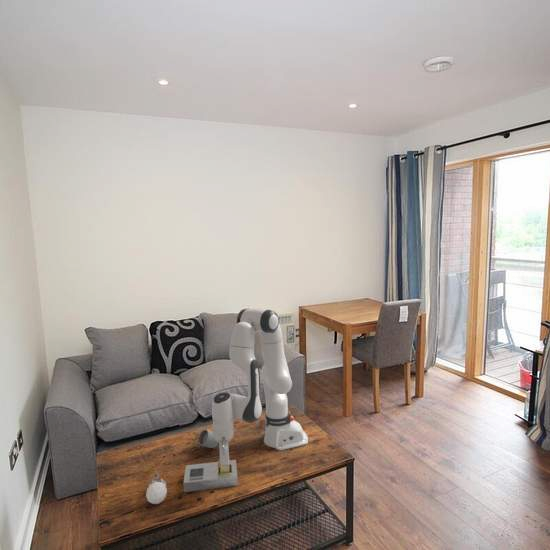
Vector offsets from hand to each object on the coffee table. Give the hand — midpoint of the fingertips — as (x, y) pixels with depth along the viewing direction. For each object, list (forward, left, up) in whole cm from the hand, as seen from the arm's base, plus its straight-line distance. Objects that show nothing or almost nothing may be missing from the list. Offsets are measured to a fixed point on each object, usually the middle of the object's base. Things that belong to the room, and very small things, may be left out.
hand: (224, 462), depth 162 cm
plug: (0, 0, -7) cm, 7 cm away
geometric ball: (+27, +10, -7) cm, 30 cm away
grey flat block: (+6, 0, -7) cm, 9 cm away
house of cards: (+29, +4, -8) cm, 30 cm away
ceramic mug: (+8, -26, -7) cm, 28 cm away
